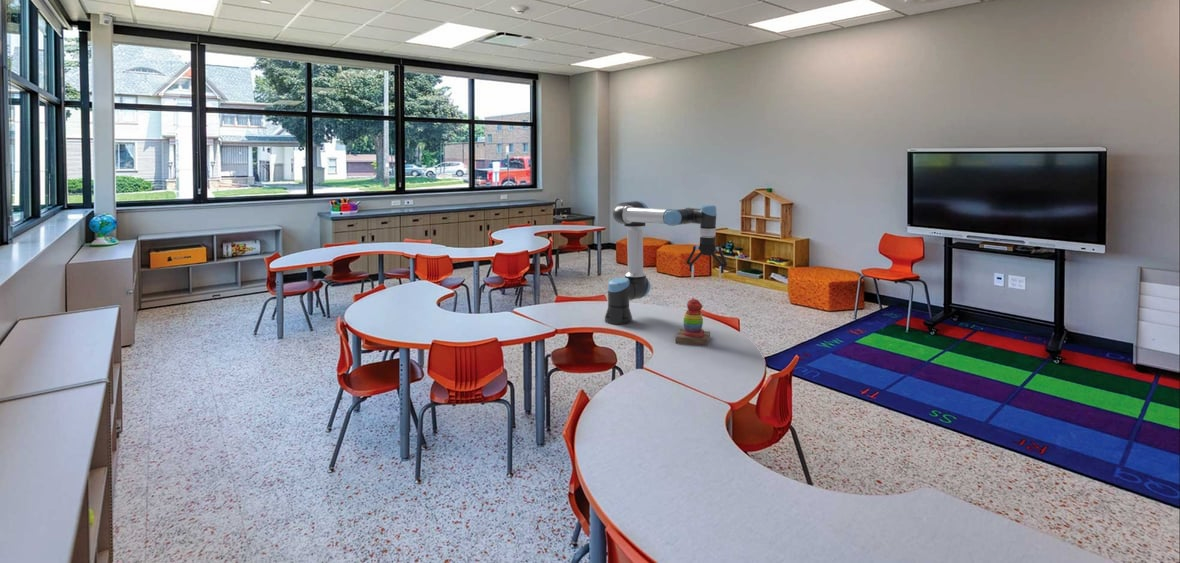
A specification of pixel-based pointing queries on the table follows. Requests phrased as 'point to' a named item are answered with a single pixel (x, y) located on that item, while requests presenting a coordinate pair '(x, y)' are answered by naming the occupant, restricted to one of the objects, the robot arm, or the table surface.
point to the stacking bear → (693, 319)
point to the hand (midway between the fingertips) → (706, 278)
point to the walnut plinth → (692, 338)
